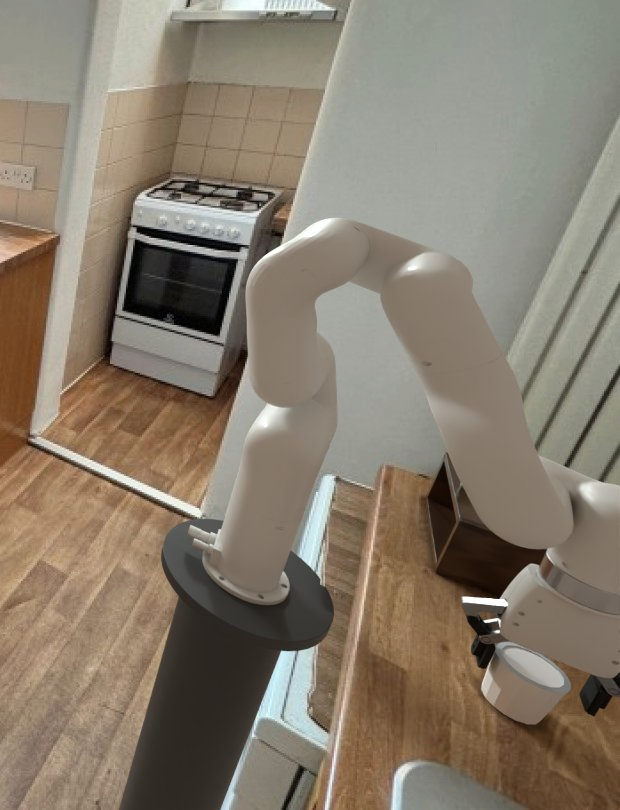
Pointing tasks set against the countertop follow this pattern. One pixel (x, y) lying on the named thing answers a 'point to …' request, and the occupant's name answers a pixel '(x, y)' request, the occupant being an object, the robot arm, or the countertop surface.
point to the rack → (470, 538)
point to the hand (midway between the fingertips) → (530, 682)
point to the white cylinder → (523, 683)
